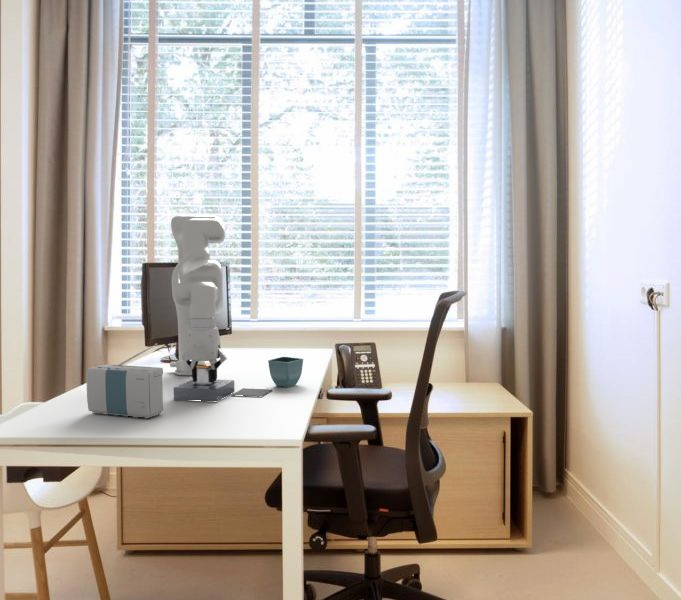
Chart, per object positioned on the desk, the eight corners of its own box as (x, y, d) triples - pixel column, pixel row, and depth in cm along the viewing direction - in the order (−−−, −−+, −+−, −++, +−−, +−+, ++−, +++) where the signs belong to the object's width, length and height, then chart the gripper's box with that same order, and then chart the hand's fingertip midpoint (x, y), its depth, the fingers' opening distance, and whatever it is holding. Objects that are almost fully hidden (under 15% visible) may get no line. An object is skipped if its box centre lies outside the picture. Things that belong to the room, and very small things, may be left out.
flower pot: (288, 389, 206) (288, 362, 205) (267, 386, 210) (267, 360, 210) (304, 384, 213) (303, 358, 212) (283, 382, 218) (283, 356, 217)
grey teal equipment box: (86, 415, 173) (83, 343, 172) (107, 408, 181) (104, 339, 180) (148, 421, 166) (146, 346, 165) (167, 414, 174) (165, 342, 172)
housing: (173, 400, 190) (173, 387, 190) (194, 390, 204) (193, 378, 203) (216, 402, 187) (216, 389, 187) (234, 392, 201) (234, 380, 200)
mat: (231, 396, 196) (231, 394, 196) (243, 389, 205) (243, 388, 205) (261, 397, 194) (261, 396, 194) (272, 390, 203) (272, 389, 203)
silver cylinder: (194, 397, 194) (193, 366, 193) (201, 394, 198) (200, 363, 198) (209, 398, 192) (208, 366, 192) (215, 395, 197) (215, 363, 197)
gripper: (172, 324, 192) (173, 382, 193) (224, 325, 188) (225, 384, 190) (183, 321, 199) (184, 378, 201) (233, 322, 196) (234, 380, 197)
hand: (204, 380), depth 195 cm, fingers closed on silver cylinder, 5 cm apart
